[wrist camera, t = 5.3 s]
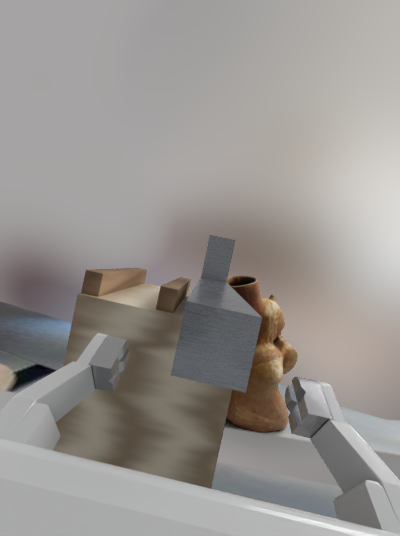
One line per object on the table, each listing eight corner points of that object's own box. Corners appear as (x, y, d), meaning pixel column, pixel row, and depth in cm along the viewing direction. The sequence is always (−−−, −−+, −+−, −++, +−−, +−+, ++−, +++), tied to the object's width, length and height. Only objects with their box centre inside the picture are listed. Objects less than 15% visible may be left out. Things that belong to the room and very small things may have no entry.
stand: (192, 473, 32) (231, 287, 31) (178, 636, 18) (250, 306, 17) (100, 450, 32) (138, 267, 32) (18, 591, 18) (82, 270, 18)
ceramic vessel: (302, 435, 45) (334, 294, 44) (209, 453, 36) (247, 276, 35) (254, 388, 59) (278, 281, 59) (180, 393, 50) (206, 267, 50)
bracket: (219, 302, 28) (232, 242, 28) (245, 392, 8) (290, 189, 8) (197, 297, 28) (209, 238, 28) (170, 375, 8) (212, 174, 8)
